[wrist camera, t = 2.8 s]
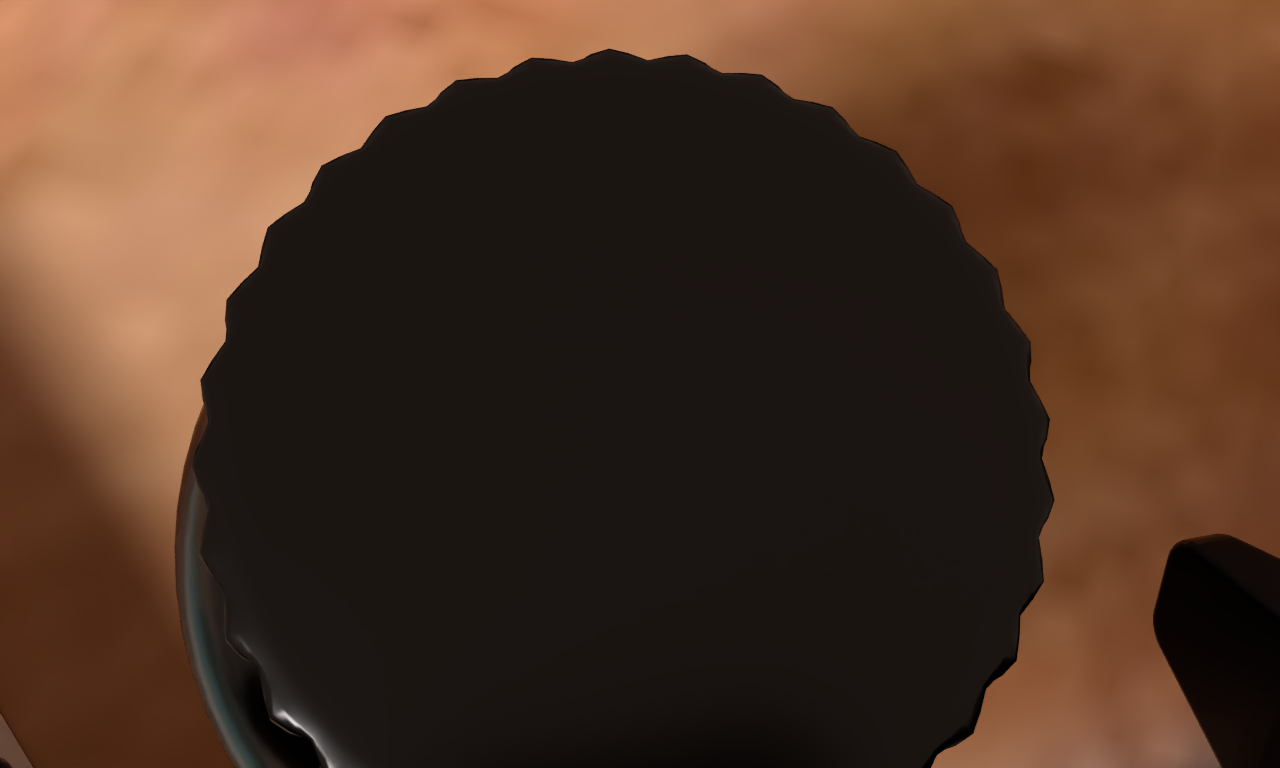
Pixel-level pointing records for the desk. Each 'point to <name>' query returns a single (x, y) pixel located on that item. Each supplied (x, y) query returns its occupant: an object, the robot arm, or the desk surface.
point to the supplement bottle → (611, 444)
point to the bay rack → (11, 748)
